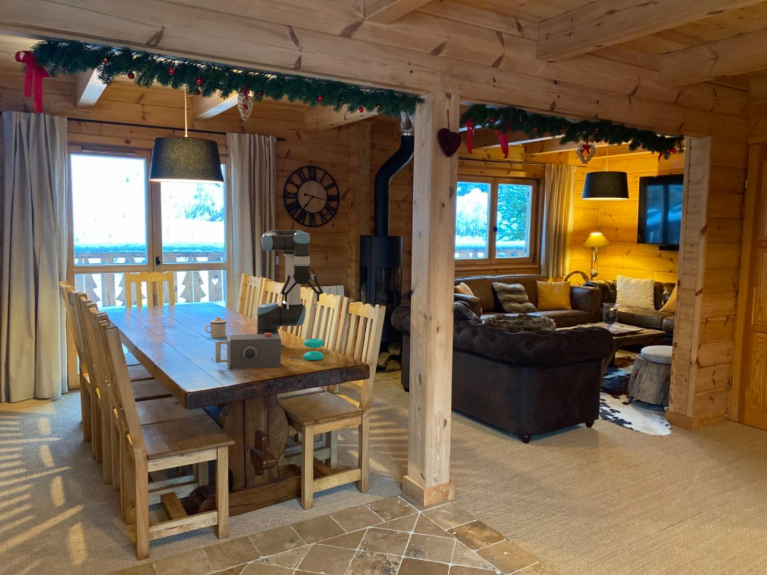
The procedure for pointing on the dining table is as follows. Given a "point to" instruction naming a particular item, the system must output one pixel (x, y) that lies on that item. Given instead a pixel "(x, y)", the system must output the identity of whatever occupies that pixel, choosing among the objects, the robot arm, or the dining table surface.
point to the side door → (218, 351)
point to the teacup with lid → (217, 328)
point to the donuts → (313, 344)
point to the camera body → (255, 351)
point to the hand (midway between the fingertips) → (301, 308)
